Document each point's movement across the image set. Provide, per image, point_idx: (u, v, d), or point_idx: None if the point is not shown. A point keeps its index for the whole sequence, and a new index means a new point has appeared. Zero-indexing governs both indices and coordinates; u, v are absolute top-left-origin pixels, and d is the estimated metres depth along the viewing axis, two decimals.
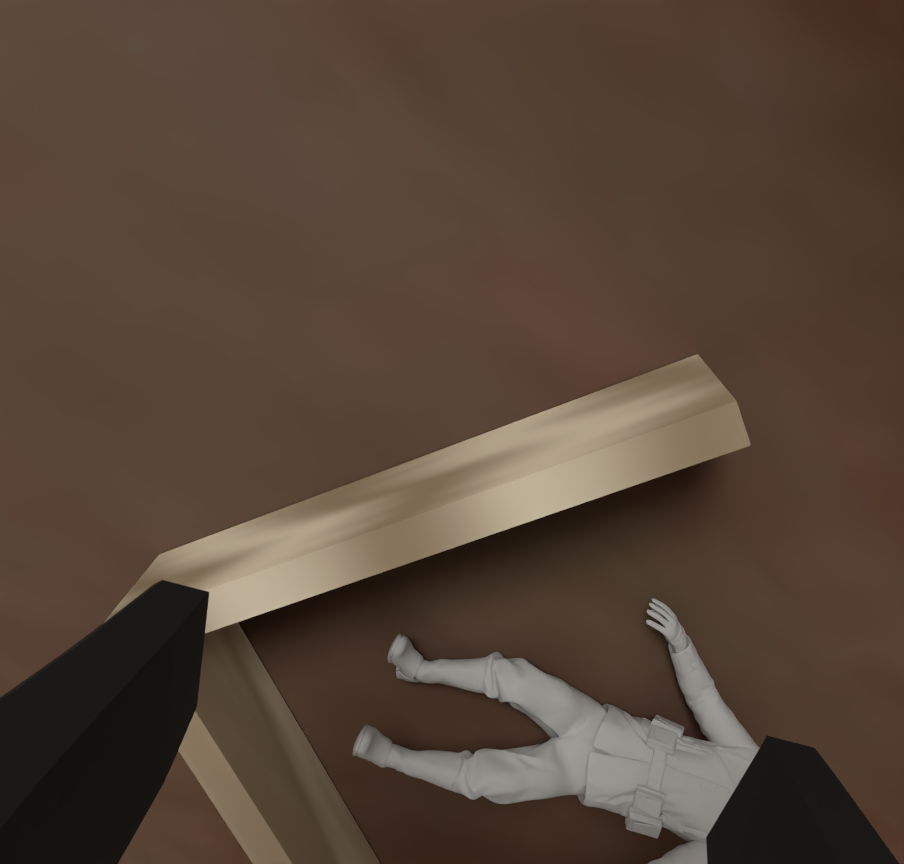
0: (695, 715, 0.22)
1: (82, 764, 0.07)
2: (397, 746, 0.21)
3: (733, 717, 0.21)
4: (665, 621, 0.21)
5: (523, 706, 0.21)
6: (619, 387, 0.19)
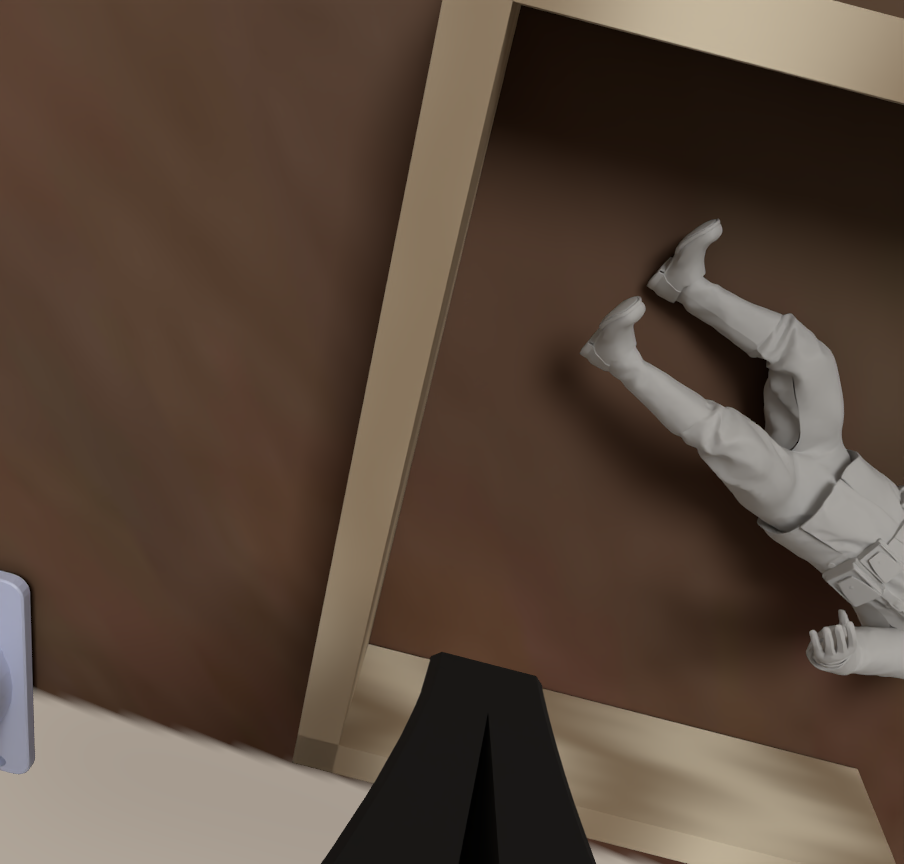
0: None
1: None
2: None
3: None
4: None
5: (802, 388, 0.16)
6: None
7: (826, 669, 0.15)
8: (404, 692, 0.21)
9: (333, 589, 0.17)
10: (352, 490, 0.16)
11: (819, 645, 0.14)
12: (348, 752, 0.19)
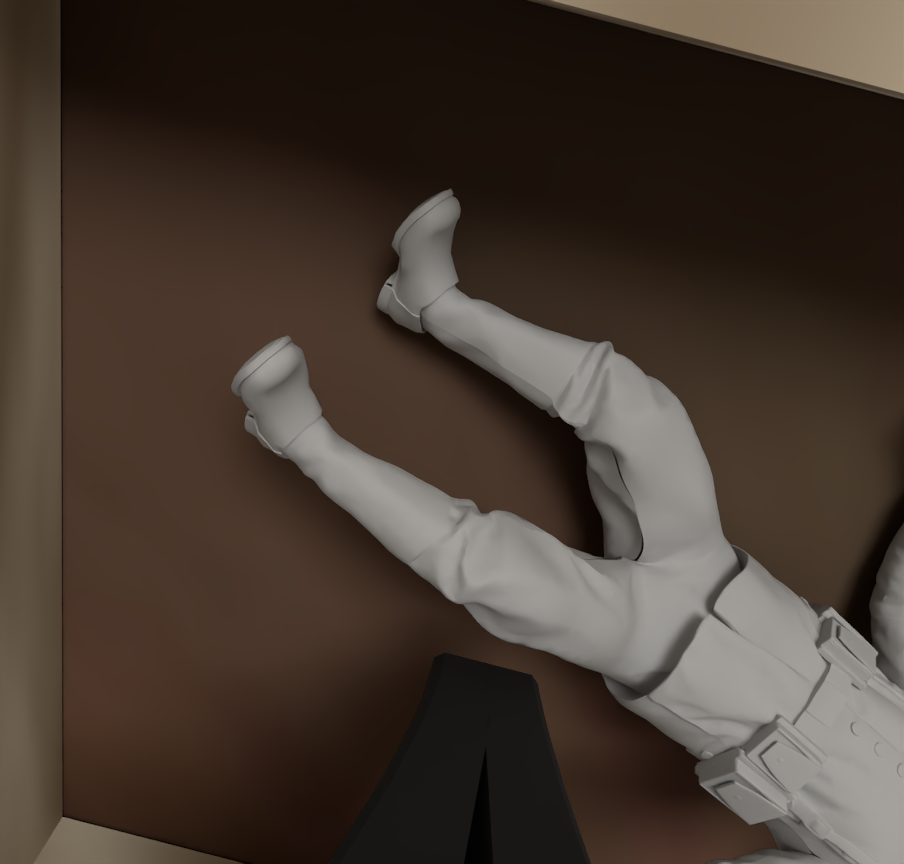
0: (882, 634, 0.11)
1: None
2: (329, 425, 0.09)
3: None
4: None
5: (629, 468, 0.09)
6: None
7: None
8: None
9: None
10: None
11: None
12: None
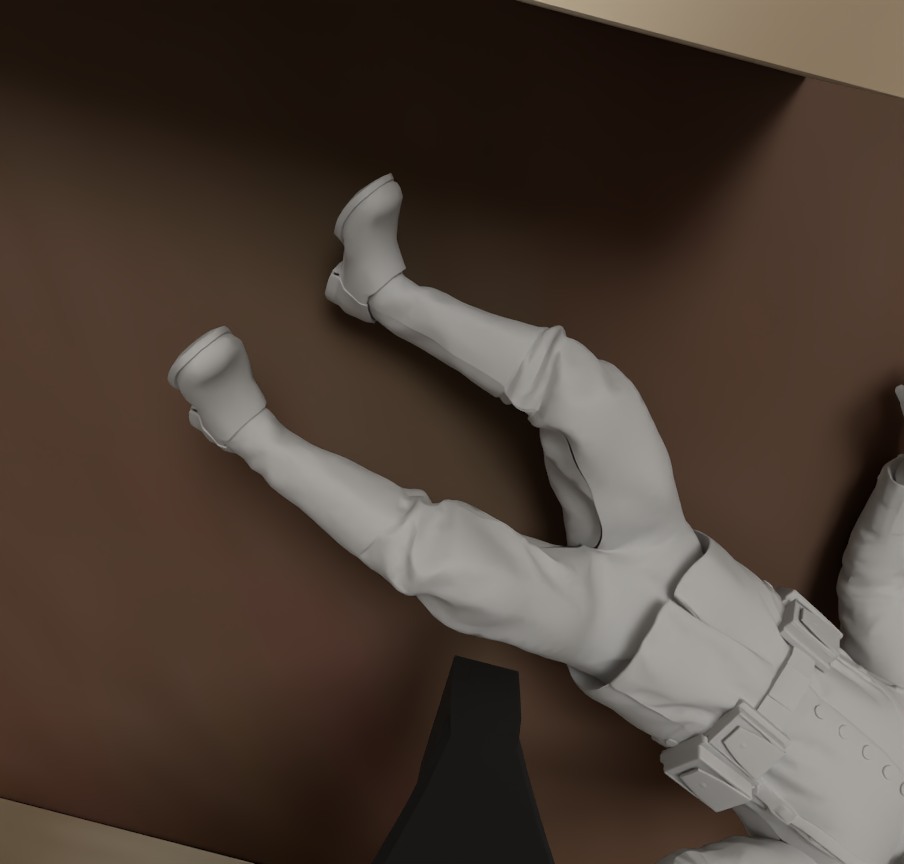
0: (849, 616, 0.11)
1: None
2: (274, 417, 0.09)
3: None
4: None
5: (583, 453, 0.09)
6: None
7: None
8: None
9: None
10: None
11: None
12: None
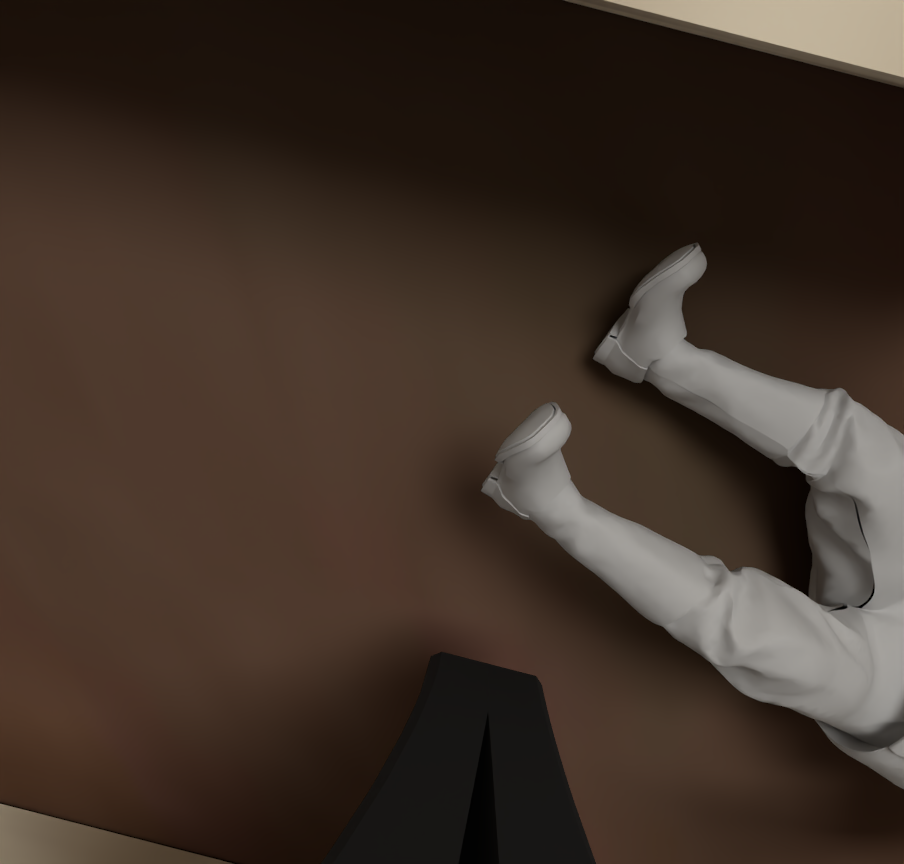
0: None
1: None
2: (574, 485, 0.09)
3: None
4: None
5: (874, 518, 0.09)
6: None
7: None
8: None
9: None
10: None
11: None
12: None
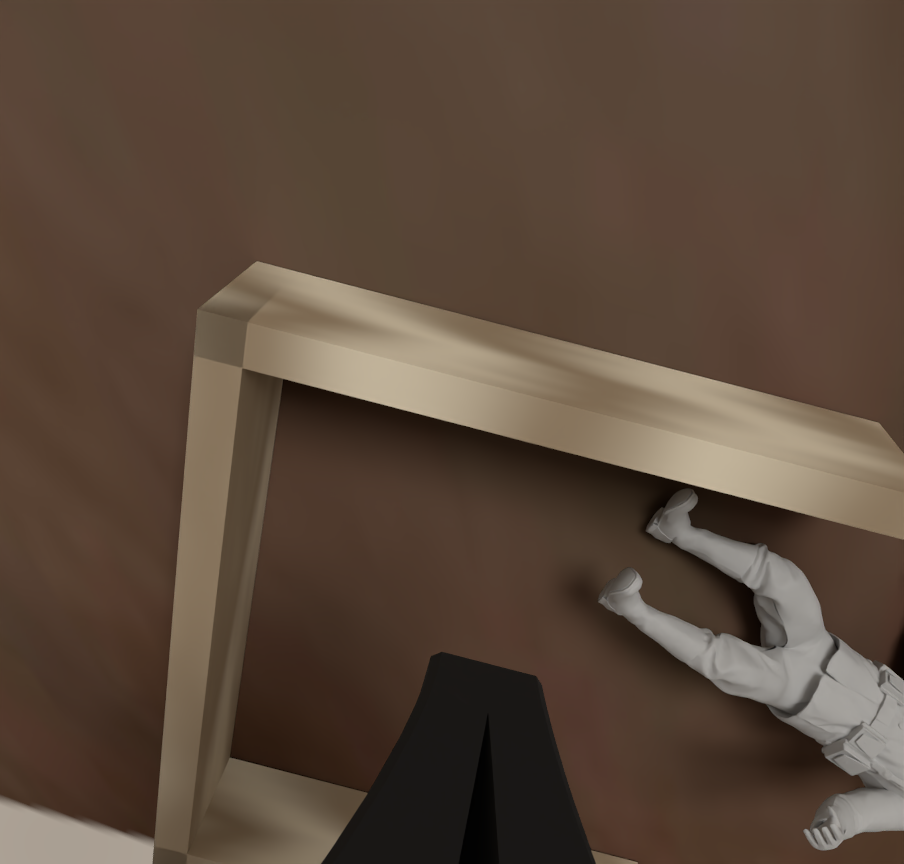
0: None
1: None
2: (641, 599, 0.19)
3: None
4: None
5: (782, 608, 0.20)
6: (801, 407, 0.18)
7: None
8: (252, 802, 0.25)
9: (168, 742, 0.21)
10: (173, 674, 0.20)
11: (813, 839, 0.17)
12: (195, 859, 0.24)
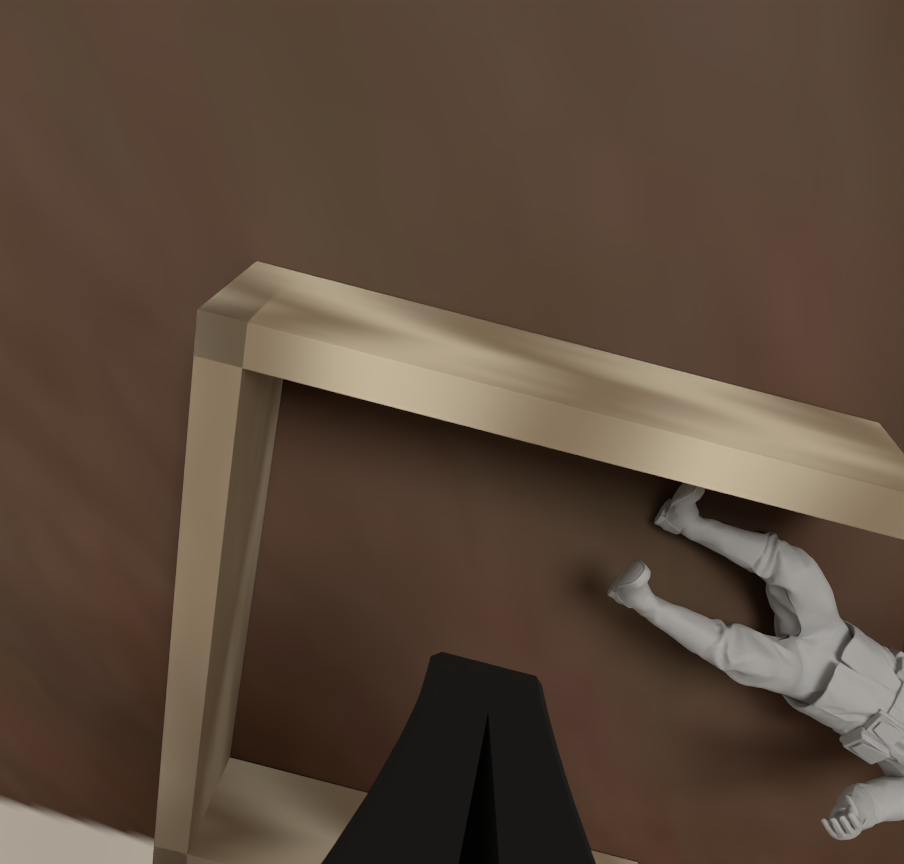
0: None
1: None
2: None
3: None
4: None
5: (794, 596, 0.19)
6: (801, 407, 0.18)
7: None
8: (252, 802, 0.25)
9: (168, 742, 0.21)
10: (173, 674, 0.20)
11: (831, 829, 0.17)
12: (195, 859, 0.24)
